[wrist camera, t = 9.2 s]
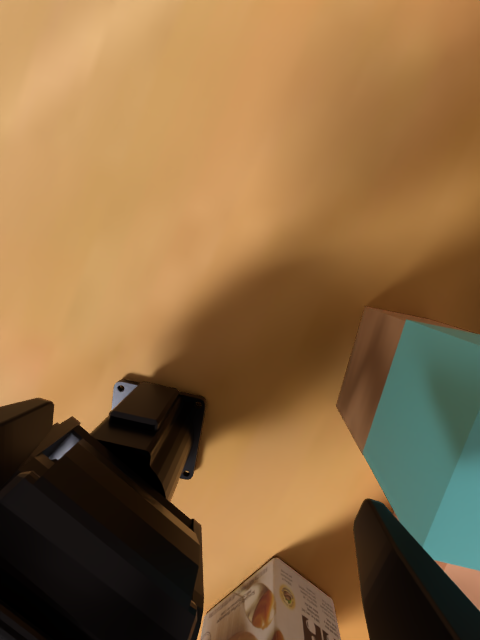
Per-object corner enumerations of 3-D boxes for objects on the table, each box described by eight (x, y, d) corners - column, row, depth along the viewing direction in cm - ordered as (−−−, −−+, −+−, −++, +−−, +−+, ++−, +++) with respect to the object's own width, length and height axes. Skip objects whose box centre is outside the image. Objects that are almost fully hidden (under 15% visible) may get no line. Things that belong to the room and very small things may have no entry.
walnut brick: (394, 418, 18) (442, 472, 14) (335, 405, 19) (362, 455, 14) (428, 318, 17) (495, 339, 12) (364, 306, 17) (405, 321, 12)
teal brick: (442, 470, 14) (544, 586, 9) (362, 453, 14) (418, 556, 9) (495, 337, 12) (654, 385, 7) (406, 319, 12) (502, 353, 7)
